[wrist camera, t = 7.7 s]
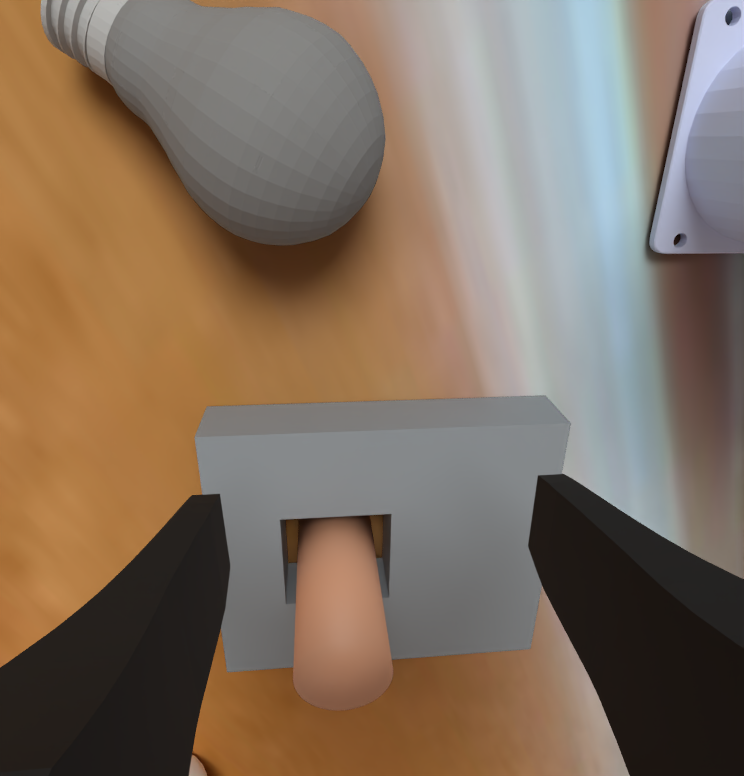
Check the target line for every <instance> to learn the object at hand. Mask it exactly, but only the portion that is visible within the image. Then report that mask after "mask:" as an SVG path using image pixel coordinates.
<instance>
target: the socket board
mask: <svg viewBox="0 0 744 776" xmlns="http://www.w3.org/2000/svg"><path fill="white" fill-rule="evenodd" d="M570 425H571V423H570V422H569V421H568V420H567V418H566V417H565V416H564V415H563V414H562V413H561V412H560V411H559V410H558V409H557V408H556V406H555V405H554V404H553V403H552V402H551V401H550V400H549V399H548V398H547V397H546V396H520V397H489V398H458V399H427V400H396V401H366V402H335V403H304V404H273V405H242V406H211V407H207V408H206V410H205V413H204V415H203V418H202V420H201V423H200V425H199V428H198V430H197V433H196V435H195V443H196V451H197V458H198V465H199V472H200V480H201V487H202V494H203V495H206V494H220V497H221V504H222V511H223V518H224V525H225V532H226V539H227V546H228V553H229V559H230V575H229V584H228V592H227V600H226V607H225V612H224V616H223V621H222V625H221V631H222V638H223V646H224V653H225V660H226V667H227V672H238V671H251V670H264V669H277V668H290V667H293V665H294V638H295V611H296V584H297V563H288V551H287V535H286V520H285V519H303V518H322V517H341V516H361V515H380V514H383V550H382V558H376V560H377V567H378V573H379V580H380V586H381V593H382V599H383V606H384V612H385V619H386V626H387V632H388V639H389V645H390V652H391V658H392V660H394V659H407V658H420V657H433V656H446V655H459V654H472V653H485V652H498V651H511V650H524V649H530V648H531V642H532V637H533V631H534V626H535V620H536V614H537V609H538V603H539V598H540V592H541V587H542V584H541V581H540V579H539V576H538V573H537V571H536V568H535V565H534V562H533V559H532V557H531V554H530V551H529V548H528V542H529V535H530V527H531V520H532V513H533V506H534V499H535V492H536V485H537V478H538V475H554V474H562V470H563V464H564V458H565V453H566V447H567V442H568V436H569V431H570Z"/></svg>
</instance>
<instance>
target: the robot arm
mask: <svg viewBox="0 0 744 776" xmlns="http://www.w3.org/2000/svg"><path fill="white" fill-rule="evenodd" d="M728 10H731V12H732V21H731V23H730V24H729V25H727V23H726V22H725V15H726V13H727V11H728ZM678 234H680V235H681V239H680V241H679V243H677V244H676V245H674V241H673V240H674V238H675V236H677V235H678ZM649 244H650V247H651V249H652V250H654V251H655V252H658V253H662V254H713V253H744V0H710V1H708V2H707V3H705V4H704V5H703V6H702V7H701V9H700V10H699V13H698V15H697V18H696V23H695V28H694V33H693V37H692V42H691V47H690V51H689V56H688V61H687V65H686V70H685V75H684V80H683V84H682V89H681V94H680V98H679V103H678V108H677V112H676V117H675V122H674V127H673V131H672V136H671V141H670V145H669V150H668V155H667V159H666V164H665V169H664V174H663V178H662V183H661V188H660V192H659V197H658V202H657V206H656V211H655V216H654V221H653V225H652V230H651V235H650V242H649ZM528 548H529V551H530V554H531V557H532V559H533V562H534V565H535V568H536V571H537V573H538V576H539V579H540V581H541V584H542V586H543V588H544V590H545V592H546V594H547V596H548V598H549V600H550V602H551V604H552V606H553V608H554V610H555V612H556V614H557V616H558V618H559V620H560V622H561V623H562V625H563V627H564V629H565V631H566V633H567V635H568V637H569V639H570V641H571V642H572V644H573V646H574V648H575V650H576V652H577V654H578V656H579V658H580V660H581V662H582V663H583V665H584V667H585V669H586V671H587V673H588V675H589V677H590V679H591V681H592V683H593V685H594V688H595V690H596V692H597V694H598V696H599V699H600V701H601V703H602V706H603V708H604V711H605V713H606V716H607V718H608V721H609V723H610V726H611V728H612V731H613V733H614V736H615V738H616V740H617V743H618V746H619V748H620V751H621V754H622V756H623V759H624V762H625V764H626V767H627V769H628V772H629V775H630V776H744V579H741V578H739V577H737V576H735V575H733V574H731V573H729V572H727V571H725V570H723V569H721V568H719V567H717V566H715V565H713V564H711V563H709V562H707V561H705V560H703V559H701V558H699V557H697V556H695V555H694V554H692V553H690V552H688V551H686V550H685V549H683V548H681V547H679V546H678V545H676V544H674V543H672V542H671V541H669V540H667V539H665V538H664V537H662V536H660V535H659V534H657V533H655V532H654V531H652V530H650V529H649V528H647V527H646V526H644V525H642V524H641V523H639V522H638V521H636V520H634V519H633V518H631V517H630V516H628V515H627V514H625V513H624V512H622V511H620V510H619V509H617V508H616V507H614V506H613V505H611V504H610V503H608V502H607V501H605V500H604V499H602V498H601V497H599V496H598V495H596V494H595V493H593V492H592V491H590V490H589V489H587V488H586V487H584V486H583V485H581V484H580V483H578V482H576V481H575V480H573V479H571V478H570V477H568V476H566V475H565V474H554V475H538V478H537V485H536V492H535V499H534V506H533V513H532V520H531V527H530V535H529V542H528ZM229 575H230V559H229V553H228V546H227V539H226V532H225V525H224V518H223V511H222V504H221V497H220V494H206V495H192V496H191V497H190V498H189V499H188V500H187V501H186V502H185V503H184V504H183V505H182V506H181V507H180V509H179V510H178V511H177V512H176V513H175V514H174V515H173V517H172V518H171V519H170V520H169V521H168V522H167V523H166V524H165V526H164V527H163V528H162V529H161V530H160V531H159V532H158V533H157V534H156V536H155V537H154V538H153V539H152V540H151V541H150V542H149V543H148V544H147V545H146V546H145V547H144V548H143V549H142V551H141V552H140V553H139V554H138V555H137V556H136V557H135V558H134V559H133V560H132V561H131V562H130V563H129V564H128V565H127V566H126V567H125V568H124V569H123V570H122V571H121V572H120V573H119V574H118V575H117V576H116V577H115V578H114V579H113V580H112V581H111V582H109V583H108V584H107V585H106V586H105V587H104V588H103V589H102V590H101V591H100V592H99V593H98V594H97V595H95V596H94V597H93V598H92V599H91V600H90V601H89V602H87V603H86V604H85V605H84V606H83V607H81V608H80V609H79V610H78V611H76V612H75V613H74V614H73V615H72V616H70V617H69V618H68V619H67V620H65V621H64V622H63V623H62V624H60V625H59V626H58V627H57V628H55V629H54V630H53V631H51V632H50V633H48V634H47V635H46V636H44V637H43V638H41V639H40V640H39V641H37V642H36V643H35V644H33V645H32V646H30V647H29V648H28V649H26V650H25V651H23V652H22V653H21V654H19V655H18V656H16V657H15V658H14V659H12V660H11V661H9V662H8V663H6V664H5V665H4V666H2V667H1V668H0V776H189V771H190V764H191V758H192V751H193V745H194V738H195V732H196V727H197V722H198V718H199V713H200V708H201V704H202V700H203V696H204V692H205V688H206V684H207V680H208V676H209V673H210V669H211V665H212V661H213V657H214V653H215V649H216V645H217V641H218V637H219V633H220V629H221V625H222V621H223V616H224V612H225V607H226V600H227V592H228V584H229Z"/></svg>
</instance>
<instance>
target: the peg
mask: <svg viewBox="0 0 744 776" xmlns="http://www.w3.org/2000/svg"><path fill="white" fill-rule="evenodd" d="M392 678H393V665H392V658H391V652H390V645H389V639H388V632H387V626H386V619H385V612H384V606H383V599H382V593H381V586H380V580H379V573H378V567H377V560H376V553H375V547H374V540H373V534H372V527H371V521H370V515H361V516H341V517H322V518H303V519H299V530H298V557H297V584H296V611H295V638H294V665H293V683H294V687H295V689H296V691H297V693H298V694H299V696H300V697H301V698H302V699H304V700H305V701H306V702H308V703H309V704H311V705H313V706H316V707H319V708H322V709H327V710H349V709H354V708H358V707H361V706H364V705H366V704H369V703H371V702H372V701H374V700H376V699H377V698H378V697H380V696H381V695H382V694H383V693H384V692H385V691H386V690H387V688H388V687H389V685H390V683H391V681H392Z"/></svg>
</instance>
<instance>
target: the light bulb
mask: <svg viewBox="0 0 744 776" xmlns="http://www.w3.org/2000/svg"><path fill="white" fill-rule="evenodd" d="M41 20H42V25H43V29H44V32H45V34H46V36H47V38H48V40H49V41H50V42H51V43H52V45H53V46H55V47H56V48H57V49H59V50H60V51H62V52H63V53H65V54H67V55H68V56H70V57H71V58H73V59H76V60H77V61H78V62H79V63H81V64H82V65H83V66H85V67H88V68H90V70H91V71H93V72H94V73H96V74H97V75H99V76H100V77H102V78H103V79H105V80H106V81H108V83H110V84H111V85H112V86H113V87H114V89H115V91H116V93H117V95H118V96H119V97H120V99H121V100H122V101H123V103H124V104H125V105H126V106H127V107H128V108H129V109H130V110H131V111H132V112H133V113H134V114H135V115H137V116H138V117H139V118H141V119H142V120H143V121H144V122H146V123H147V124H148V125H149V126H150V128H151V129H152V131H153V133H154V134H155V136H156V137H157V139H158V141H159V142H160V144H161V145H162V147H163V149H164V150H165V152H166V154H167V156H168V158H169V160H170V162H171V164H172V166H173V168H174V169H175V171H176V172H177V174H178V176H179V177H180V179H181V181H182V183H183V184H184V186H185V188H186V190H187V192H188V193H189V194H190V196H191V197H192V198H193V199H194V201H195V202H196V203H197V204H198V205H199V206H200V207H201V209H202V210H203V211H204V212H205V213H206V214H207V215H208V216H209V217H210V218H212V219H213V220H214V221H215V222H216V223H218V224H219V225H220V226H222V227H223V228H225V229H226V230H228V231H229V232H231V233H233V234H234V235H237V236H239V237H242V238H245V239H247V240H250V241H253V242H258V243H262V244H269V245H295V244H300V243H305V242H310V241H314V240H317V239H320V238H323V237H325V236H328V235H330V234H332V233H333V232H335V231H336V230H338V229H339V228H340V227H342V226H343V225H345V224H346V223H347V222H348V221H349V220H350V219H351V218H352V217H353V216H354V215H355V214H356V213H357V212H358V211H359V210H360V209H361V207H362V206H363V205H364V204H365V202H366V201H367V199H368V198H369V196H370V194H371V192H372V190H373V188H374V186H375V184H376V181H377V178H378V175H379V171H380V168H381V165H382V161H383V155H384V146H385V129H384V119H383V113H382V109H381V105H380V101H379V97H378V94H377V91H376V89H375V86H374V84H373V81H372V79H371V77H370V75H369V73H368V71H367V69H366V68H365V66H364V64H363V62H362V61H361V59H360V58H359V57H358V55H357V54H356V53H355V51H354V50H353V48H352V47H351V46H350V44H349V43H348V42H347V41H346V40H345V39H344V38H343V37H342V36H341V35H340V34H339V33H337V32H336V31H334V30H333V29H331V28H330V27H328V26H327V25H326V24H324V23H322V22H320V21H318V20H316V19H314V18H311V17H309V16H306V15H303V14H300V13H297V12H294V11H290V10H287V9H283V8H279V7H240V8H221V7H202V6H200V5H197V4H195V3H194V2H192V1H190V0H41Z"/></svg>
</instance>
